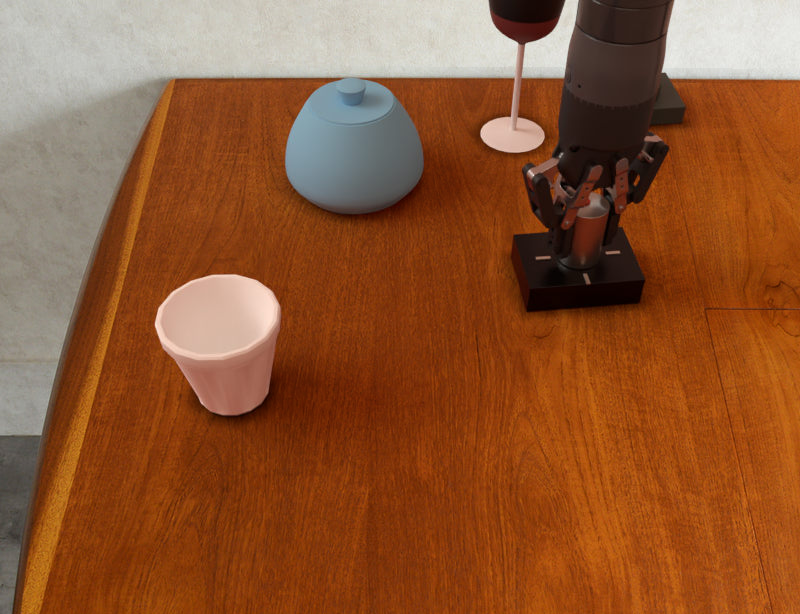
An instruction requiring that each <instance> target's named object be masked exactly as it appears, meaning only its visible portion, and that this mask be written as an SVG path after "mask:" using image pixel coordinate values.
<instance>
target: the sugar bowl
mask: <svg viewBox="0 0 800 614" xmlns="http://www.w3.org/2000/svg"><path fill="white" fill-rule="evenodd" d="M284 158H285V159H284V163H285V164H284V165H285V172H286V177H287V179H288V181H289V183H290V184H291V186H292V187H293V189H294V190H296V192H297V193H298V194H299V195H301V197H303V198H305V199H306V200H307V201H308V202H310V203H311V204H313V205H315V206H317V207H318V208H321V209H322V210H325V211H327V212H328V211H329V212H332V213H335V214H344V215H364V214H370V213H375V212H378V211H383V210H385V209H388V208H390V207H392V206H394V205H395V204H396V203H398V202H400V201H401V200H402V199H404V198H405V197H406V196H407V195H409V194H410V192H412V191H413V189H414V188H415V187H416V186H417V185H418V183H419V181H420V180H421V177H422V175H423V172H424V167H425V163H424V162H425V161H424V160H425V159H424V158H425V157H424V150H423V146H422V141H421V138H420V135H419V132H418V130H417V127H416V125H415V123H414V122H413V120H412V118H411V116H410V115H409V113H408V111H407V110H406V109H405V107H404V106H403V104H402V103H401V101H399V99H398V98H397V96H395V94H393V92H392V91H391V90H390V89H389V88H388V87H385V86H384V85H382V84H380V83H378V82H375V81H372V80H367V79H362V78H359V77H345V78H342V79H340V80H335V81H332V82H328V83H326V84H323V85H322V86H320V87H318V88H317V89H316V90H315V91H313V92H312V93H311V95H309V97H308V98H307V100H306V101H305V102H304V104H303V106H302V107H301V109H300V111H299V113H298V115H297V116H296V117H295V120H294V122H293V124H292V126H291V128H290V132H289V134H288V137H287V143H286V147H285V157H284Z"/></svg>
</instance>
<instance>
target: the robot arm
mask: <svg viewBox="0 0 800 614" xmlns="http://www.w3.org/2000/svg"><path fill="white" fill-rule="evenodd" d="M674 4H675V0H578V2H577V9H576V14H575V15H576V16H575V21H574V27H573V29H572V33H571V37H570V40H569V44H568V47H567V48H568V49H567V55H566V63H565V69H564V75H563V76H564V77H563V84H562V90H561V98H560V104H559V112H558V119H557V125H558V126H557V127H558V129H557V130H558V141H557V144H556V146H555V147H554V149H553V150H552V153H551V158H549V159H548V160H546V161H544V162H542V163H540V164H539V165H535V164H534V163H533V162H527V163H526V164H524V166H522V169H521V173H522V178H523V181H524V185H525V191H526V193H527V198H528V201H529V206H530V209H531V213H532V214H533V215H534V216H535V218H537V219H538V221H539V222H540V223H541V224H542V226H543V227H544V228H546V229H547V230H548V231H547V232H548V238H547V245H548V247H549V248H550V249H551V251H552V252H553V253H554V254H555V255H556V256H557V257H558V258H559V259H563V258H567V257H568V256H569V250H570V244H571V239H572V233H573V226H572V225H573V222H574V220H575V218H576V215H577V213H578V211H579V209H580V208H584V207H585V205H586V202H587V200H588V198H589V195H590V193H591V192H595V191H597V190H598V189H599V190H600V195H601V196H603V197H604V198H606V199H607V201H608V202H609V204H610V210H609V214H608V219H607V224H606V229H605V233H604V238H603V243H602V246H603V247H604V246H608V245H611V243H612V239H613V238H614V237H615V236H616V234H617V230H618V227H619V224H620V220H621V216H622V214H623V213H624V212H625V211H626V210H627V207H628V205H630V204H631V203H633V204H634V205H637V204H640V203H642V201H643V200H644V199H645V197H646V196H647V193H648V192H649V189H650V188H651V185H652V184H653V182H654V180H655V179H656V176H657V174H658V172H659V171H660V169H661V167H662V165H663V163H664V161H665V159H666V157H667V155H668V153H669V152H670V145H668V144H667V143H666V142H665V141H664V140H663V139H662V138H661V137H659V136H658V135H657V134H656V133H654V132H653V131H651V130H650V126H651V125H650V122H651V117H652V113H653V109H654V104H655V100H656V95H657V91H658V87H659V82H660V78H661V73H663V68H664V64H665V58H666V52H667V39H668V38H667V37H668V33H669V26H670V23H671V19H672V14H673V9H674ZM557 174H558V175H557ZM556 175H557V178H556V181H555V177H556ZM638 177H639V179H638V181H637V183H636V184H635V182H636V180H637V178H638ZM552 190H553V191H554V195H553V194H552ZM552 195H553V196H552ZM565 203H566V207H565ZM564 208H565V210H564Z"/></svg>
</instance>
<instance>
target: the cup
mask: <svg viewBox="0 0 800 614" xmlns="http://www.w3.org/2000/svg"><path fill="white" fill-rule="evenodd" d="M281 308H282V307H281V305H280V303H279V301H278V299H277V297H276V295H275V293H274V291H273V290H271V289H270V288H269V287H267V286H266V285H265V284H263V283H262V282H260V281H259V280H257V279H254V278H250V277H247V276H243V275H239V274H235V273H234V274H210V275H207V276H204V277H200V278H196V279H193V280H190V281H188V282H186V283H185V284H182V285H181V286H180V287H177V288H176V289H175V290H173V291H171V292H170V294H169V295H168V296H167V297H166V299H165V300H163V302H162V303H161V304H160V305H159V306H158V308H157V313H156V316H155V322H154V327H155V330H156V333H157V336H158V338H159V341H160V342H159V343H160V344H161V347H162V349H163V350H164V351H165V353H167V355H168V356H170V357H171V358H172V359H173V360H174V361H175V363H176V364H177V366H178V367H179V369H180V371H181V372H182V374H183V375H184V377H185V378H186V380H187V382H188V383H189V385H190V386H191V388H192V390H193V391H194V392H195V393H194V394H196V396H197V398H198V400H199V402H200V404H201V405H202V406H203V407H204V408H205V409H207V410H208V411H209V412H210V413H212V414H216V415H219V416H222V417H238V416H242V415H244V414H245V415H246V414H249V413H251V412H252V411H254V410H255V409H257V408H258V407H259V406H261V405H262V404H263V402H264V401H265V399H266V397H267V396H268V394H269V391H270V390H269V389H270V383H271V378H272V372H273V371H272V370H273V363H274V357H275V350H276V345H277V339H278V335H279V333H280V331H281V321H282V309H281Z"/></svg>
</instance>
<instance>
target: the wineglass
mask: <svg viewBox="0 0 800 614" xmlns="http://www.w3.org/2000/svg"><path fill="white" fill-rule="evenodd" d="M565 4H566V0H488V8H489V9H488V10H489V14H490V18H491V21H492V23H493V25H494V27H495V29H497V30H498V31H499V33H501V34H502V35H504V36H505V37H506V38H508V39H510V40H511V41H514V42H516V43H517V51H516V62H515V73H514V82H513V93H512V103H511V110H510V111H511V113H510V116H503V117H497V118H494V119H492V120H489V121H487V122H486V123H485V124H483V126H482V128H481V129H480V138H481V140H482V141H483V143H484V144H486V145H487V146H488V147H490V148H492V149H494V150H497V151H500V152H504V153H513V154H514V153H515V154H516V153H525V152H530V151H532V150H535V149H537V148H538V147H539V146H541V145H542V144H543V142H544V140H545V139H546V137H545V131H544V130H543V129H542V127H541V126H540V125H538V123H536V122H534V121H532V120H530V119H526V118H523V117H518V116H519V107H520V98H521V97H520V96H521V88H522V79H523V69H524V59H525V50H526V44H528V43H532V42H536V41H539V40H541V39H543V38H546V37H547V36H548V35H550V34H551V33H552V32H553V31H554V30H555V28H556V27H557V26H558V23H559V21H560V18H561V16H562V12H563V9H564V7H565Z"/></svg>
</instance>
